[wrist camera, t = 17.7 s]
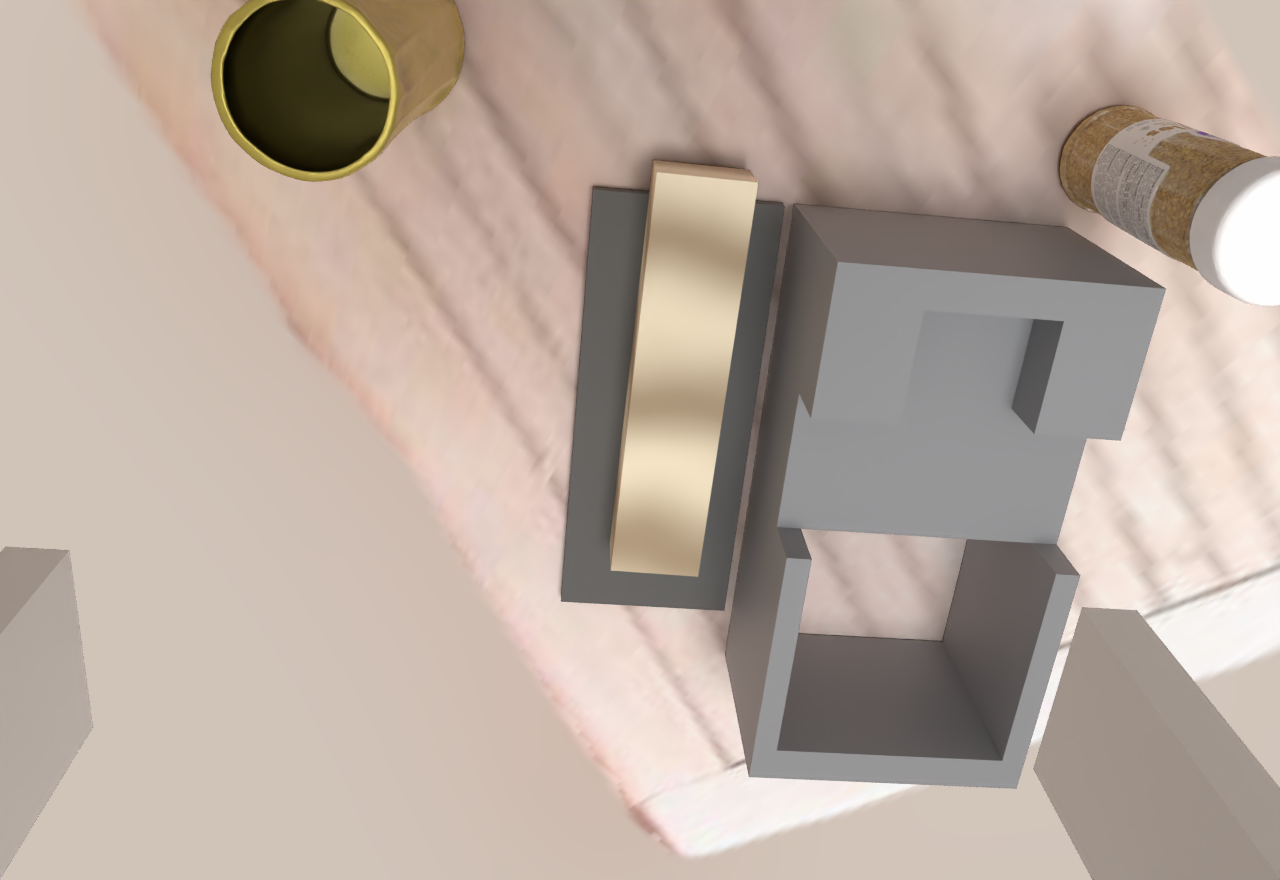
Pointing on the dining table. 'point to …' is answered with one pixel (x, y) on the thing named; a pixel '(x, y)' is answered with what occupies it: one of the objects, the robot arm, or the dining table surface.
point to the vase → (331, 78)
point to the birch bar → (680, 364)
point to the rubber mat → (605, 397)
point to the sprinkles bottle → (1182, 196)
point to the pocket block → (926, 482)
